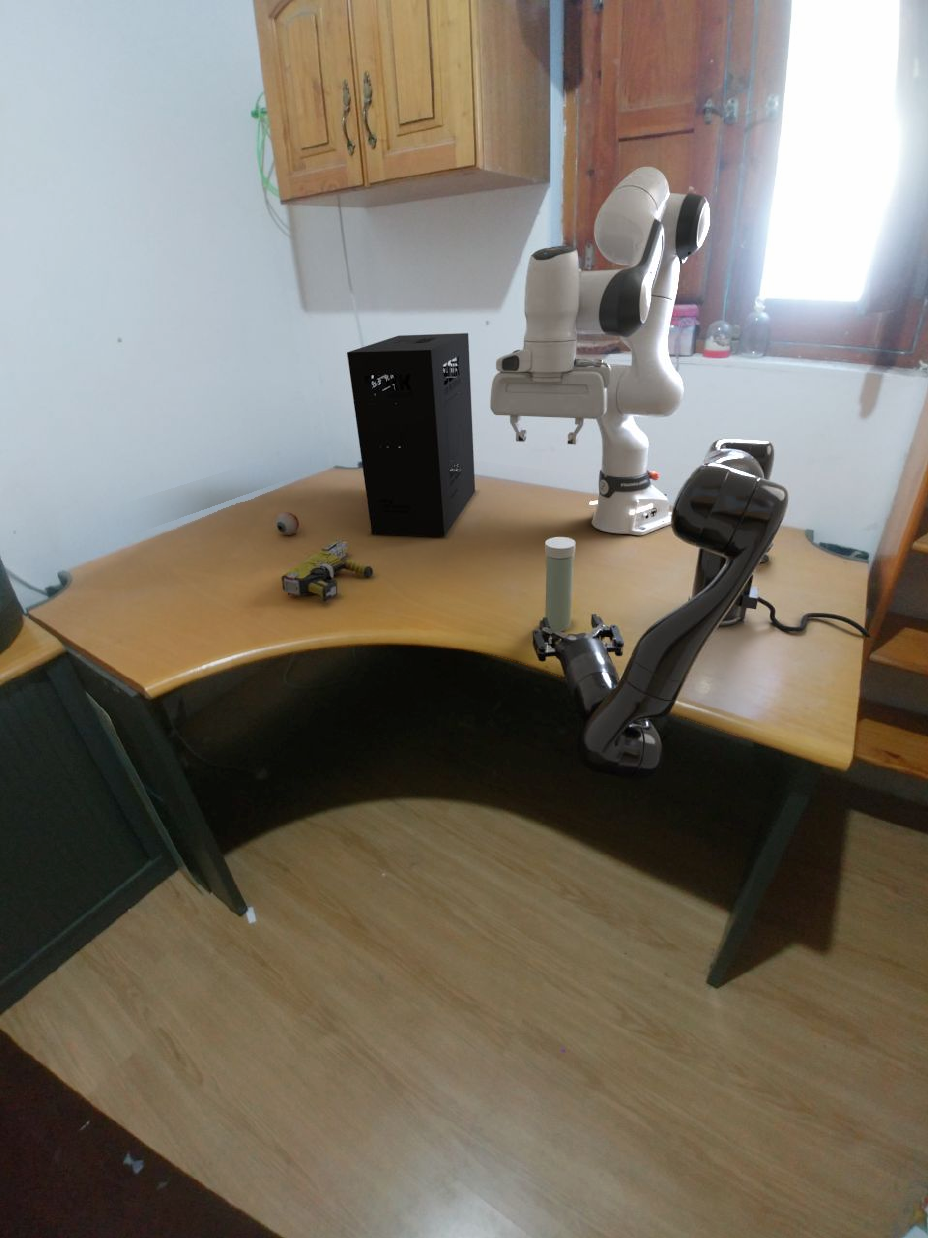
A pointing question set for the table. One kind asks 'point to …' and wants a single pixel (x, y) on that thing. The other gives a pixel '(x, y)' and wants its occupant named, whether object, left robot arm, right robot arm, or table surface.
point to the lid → (560, 547)
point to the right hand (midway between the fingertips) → (568, 620)
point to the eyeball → (287, 523)
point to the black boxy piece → (414, 431)
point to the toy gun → (321, 572)
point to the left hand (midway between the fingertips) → (546, 442)
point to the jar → (559, 592)
